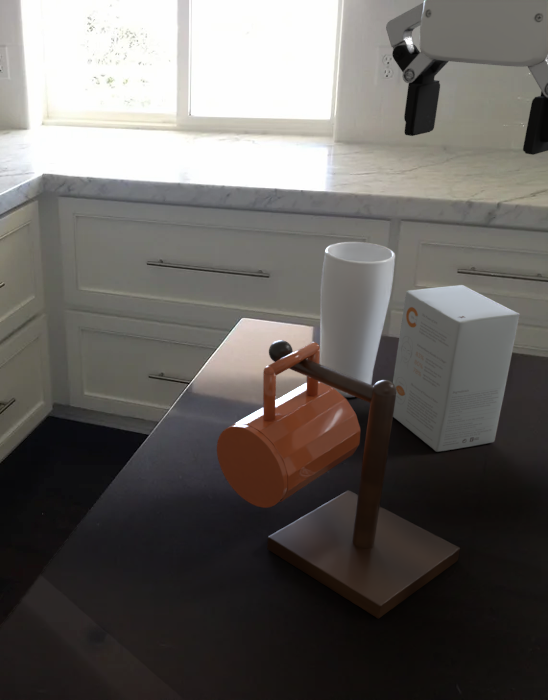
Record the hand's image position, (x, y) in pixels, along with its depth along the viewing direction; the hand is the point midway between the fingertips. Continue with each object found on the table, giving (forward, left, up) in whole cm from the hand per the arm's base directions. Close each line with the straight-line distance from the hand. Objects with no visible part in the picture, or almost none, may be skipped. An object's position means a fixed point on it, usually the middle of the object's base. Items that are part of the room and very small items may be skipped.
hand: (475, 142), depth 67 cm
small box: (-6, -2, -28) cm, 29 cm away
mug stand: (+16, +2, -28) cm, 33 cm away
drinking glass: (-6, -13, -28) cm, 32 cm away
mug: (+22, -2, -19) cm, 29 cm away
